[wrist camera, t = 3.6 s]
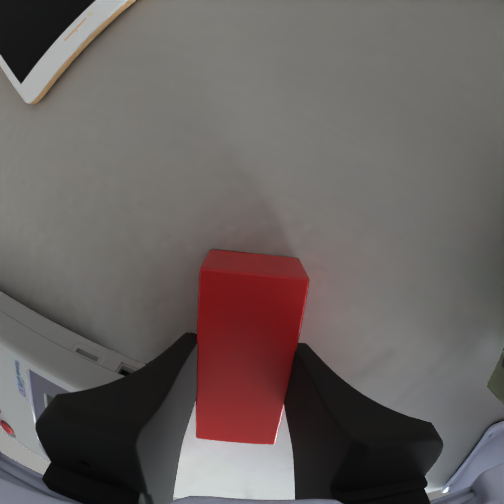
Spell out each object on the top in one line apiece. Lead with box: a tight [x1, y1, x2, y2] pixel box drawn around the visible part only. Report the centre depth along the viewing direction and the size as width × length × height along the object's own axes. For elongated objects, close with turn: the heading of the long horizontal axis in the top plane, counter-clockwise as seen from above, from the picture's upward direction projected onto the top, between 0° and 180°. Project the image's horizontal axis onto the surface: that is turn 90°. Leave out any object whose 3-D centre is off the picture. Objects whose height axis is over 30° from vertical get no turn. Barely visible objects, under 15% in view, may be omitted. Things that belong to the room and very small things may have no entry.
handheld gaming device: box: [0, 291, 146, 463], centre depth 12 cm, size 9×15×4 cm, turn 70°
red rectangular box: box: [196, 249, 309, 444], centre depth 12 cm, size 8×4×2 cm, turn 174°
